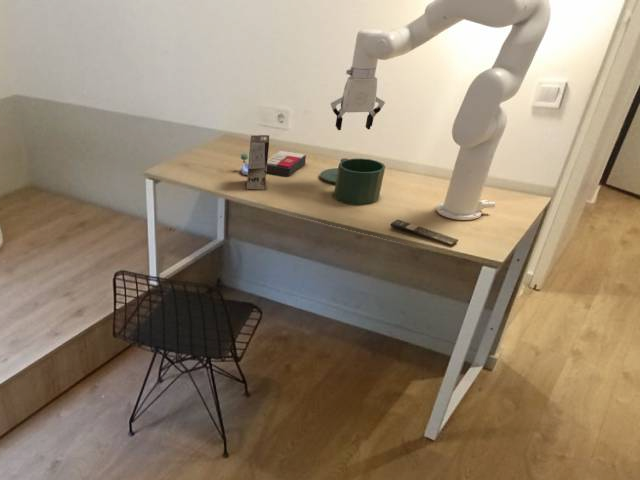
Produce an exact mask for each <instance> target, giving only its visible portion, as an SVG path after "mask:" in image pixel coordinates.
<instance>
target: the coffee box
mask: <svg viewBox="0 0 640 480" xmlns="http://www.w3.org/2000/svg"><path fill="white" fill-rule="evenodd" d="M249 141H250V142H249V153H248V155H249V156H248V163H249V164H248V175H247V181H246V190H260V191H261V190H265V188H266V178H267V173H266V171H267V161H268V159H269V149H270V135H268V134H259V135H255V134H254V135H252V134H251V135H250V140H249Z"/></svg>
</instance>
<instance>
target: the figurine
mask: <svg viewBox="0 0 640 480" xmlns="http://www.w3.org/2000/svg"><path fill="white" fill-rule="evenodd" d="M240 159H241V160H242V162H243V164H242V166H241V167H240V173H241V174H242V175H243V176H248V164H249V162H247V161H246V160H248V159H249V156H248V153H247V152H242V153H241V155H240Z"/></svg>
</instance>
